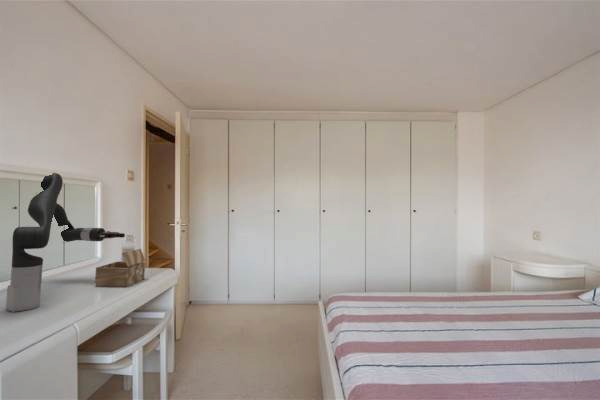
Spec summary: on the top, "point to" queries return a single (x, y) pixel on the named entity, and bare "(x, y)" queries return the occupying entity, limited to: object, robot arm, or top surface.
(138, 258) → the near flap
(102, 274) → the wooden box
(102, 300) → the top surface
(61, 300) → the top surface
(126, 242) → the water bottle
